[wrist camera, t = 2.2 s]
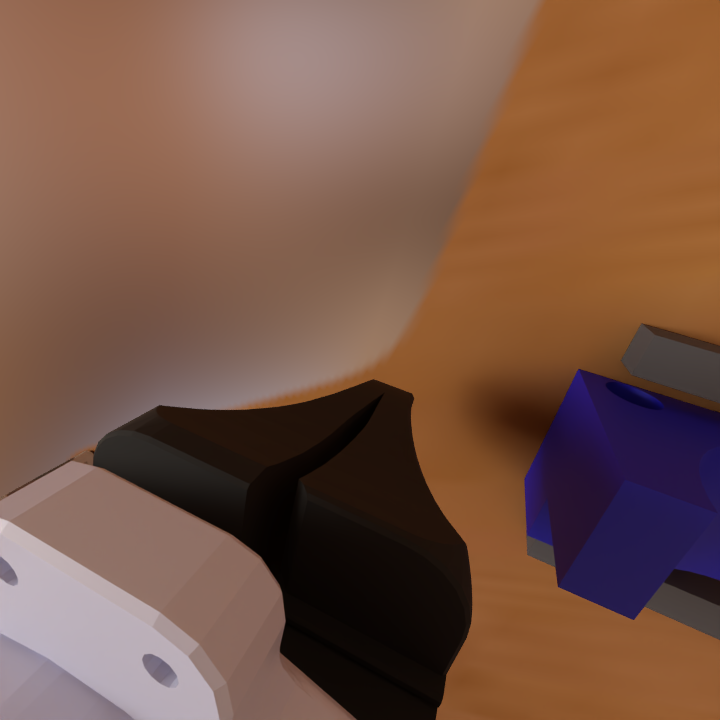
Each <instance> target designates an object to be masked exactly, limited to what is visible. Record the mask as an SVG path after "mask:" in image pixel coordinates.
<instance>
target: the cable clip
mask: <svg viewBox="0 0 720 720" xmlns="http://www.w3.org/2000/svg"><path fill="white" fill-rule="evenodd" d="M525 501H526V524H527V536H530V537H532V538H534V539H537V540H539V541H542V542H544V543H546V544H549V545H551V546H553V550H554V558H555V566H556V575H557V583H558V587H560V588H562V589H564V590H566V591H569V592H571V593H573V594H576V595H578V596H580V597H582V598H585V599H587V600H589V601H591V602H594V603H596V604H598V605H601V606H603V607H605V608H607V609H610V610H612V611H614V612H616V613H619V614H621V615H623V616H626V617H628V618H630V619H632V620H634V619H635V618H636V617H637V615H638V614H639V613H640V611H641V610H642V609H643V608H644V606H645V605H646V604H647V603H648V601H649V600H650V599H651V598H652V596H653V595H654V594H655V593H656V591H657V590H658V589H659V587H660V586H661V585H662V584H663V582H664V581H665V580H666V579H667V577H668V576H669V575H670V574H671V572H672V571H673V570H674V569H678V570H684V571H690V572H693V573H697V574H701V575H705V576H708V577H711V578H714V579H717V580H720V413H719V412H716V411H712V410H709V409H706V408H703V407H699V406H696V405H693V404H690V403H687V402H683V401H680V400H677V399H674V398H671V397H667V396H664V395H661V394H658V393H654V392H651V391H648V390H645V389H642V388H638V387H635V386H632V385H629V384H625V383H622V382H619V381H616V380H613V379H609V378H606V377H603V376H600V375H597V374H593V373H590V372H587V371H584V370H580V369H578V371H577V373H576V375H575V377H574V379H573V381H572V384H571V386H570V388H569V390H568V392H567V394H566V396H565V398H564V400H563V402H562V404H561V406H560V408H559V410H558V412H557V414H556V416H555V418H554V420H553V422H552V424H551V426H550V428H549V430H548V432H547V434H546V436H545V438H544V440H543V443H542V445H541V447H540V449H539V451H538V453H537V455H536V457H535V459H534V461H533V463H532V465H531V467H530V469H529V471H528V473H527V475H526V477H525Z"/></svg>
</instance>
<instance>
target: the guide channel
mask: <svg viewBox="0 0 720 720" xmlns="http://www.w3.org/2000/svg"><path fill="white" fill-rule="evenodd" d="M621 361H622V363H623V364H624V365H625V367H626V368H627V369H628V371H629V372H630V374H631V375H633V376H636V377H639V378H642V379H646V380H649V381H652V382H655V383H658V384H661V385H664V386H667V387H671V388H674V389H677V390H680V391H683V392H686V393H689V394H692V395H696V396H699V397H702V398H705V399H708V400H711V401H714V402H717V403H720V346H718V345H714V344H711V343H707V342H704V341H700V340H697V339H693V338H690V337H687V336H683V335H680V334H676V333H673V332H669V331H666V330H662V329H659V328H655V327H652V326H649V325H645V324H641V326H640V327H639V329H638V331H637V333H636V335H635V336H634V338H633V340H632V342H631V343H630V345H629V347H628V349H627V351H626V352H625V354H624V356H623V358H622V360H621ZM526 534H527V530H526ZM527 555H529V556H531V557H534V558H536V559H538V560H540V561H543V562H545V563H547V564H549V565H552V566H554V567H556V566H555V558H554V550H553V546H551V545H549V544H546V543H544V542H542V541H539V540H537V539H534V538H532V537H530V536H527ZM644 607H647V608H649V609H651V610H653V611H656V612H658V613H660V614H662V615H665V616H667V617H669V618H672V619H674V620H676V621H678V622H681V623H683V624H685V625H687V626H690V627H692V628H694V629H696V630H699V631H701V632H703V633H705V634H708V635H710V636H712V637H714V638H717V639H719V640H720V581H718V580H716V579H713V578H711V577H708V576H705V575H701V574H697V573H693V572H690V571H684V570H678V569H674V570H673V571H672V572H671V574H670V575H669V576H668V577H667V579H666V580H665V581H664V582H663V584H662V585H661V586H660V587H659V589H658V590H657V591H656V593H655V594H654V595H653V596H652V598H651V599H650V600H649V601H648V603H647V604H646V605H645V606H644Z"/></svg>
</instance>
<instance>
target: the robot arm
mask: <svg viewBox="0 0 720 720" xmlns="http://www.w3.org/2000/svg"><path fill="white" fill-rule="evenodd" d="M413 401H414V397H413V395H412V393H409V392H406V391H404V390H401V389H398V388H396V387H393V386H390V385H387V384H385V383H382V382H379V381H377V380H374V379H373V380H370V381H367V382H365V383H362V384H359V385H357V386H354V387H352V388H349V389H346V390H343V391H340V392H338V393H335V394H332V395H328V396H325V397H321V398H318V399H314V400H311V401H307V402H303V403H298V404H292V405H287V406H281V407H272V408H261V409H249V410H206V409H204V410H203V409H192V408H180V407H170V406H162V405H159V406H157V407H155V408H154V409H152V410H150V411H148V412H146V413H144V414H143V415H141V416H139V417H137V418H135V419H133V420H132V421H130V422H128V423H126V424H124V425H122V426H121V427H119V428H117V429H115V430H113V431H111V432H110V433H108V434H106V435H105V436H104V437H103V438H102V439H101V440H100V441H99V442H98V445H97V447H96V450H95V452H94V456H93V466H92V465H88V464H84V463H80V462H75V461H70V462H68V463H66V464H65V465H63V466H61V467H59V468H58V469H56V470H54V471H52V472H50V473H49V474H47V475H45V476H43V477H42V478H40V479H38V480H36V481H34V482H33V483H31V484H29V485H27V486H25V487H24V488H22V489H20V490H18V491H17V492H15V493H13V494H11V495H9V496H8V497H6V498H4V499H2V500H1V501H0V720H436V714H437V707H438V708H439V706H440V704H441V702H442V699H443V694H444V688H445V681H446V674H447V672H448V670H449V669H450V667H451V665H452V663H453V661H454V660H455V658H456V656H457V654H458V652H459V651H460V649H461V647H462V645H463V643H464V642H465V640H466V638H467V635H468V632H469V628H470V625H471V618H472V584H471V573H470V564H469V557H468V550H467V546H466V544H465V542H464V541H463V539H462V538H461V537H460V535H459V534H458V533H457V532H456V530H455V529H454V528H453V526H452V525H451V524H450V523H449V521H448V520H447V519H446V517H445V516H444V514H443V513H442V511H441V510H440V508H439V506H438V505H437V503H436V502H435V500H434V498H433V496H432V494H431V492H430V490H429V488H428V486H427V484H426V481H425V479H424V476H423V474H422V471H421V468H420V465H419V462H418V459H417V455H416V451H415V447H414V442H413V436H412V427H411V407H412V404H413Z"/></svg>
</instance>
